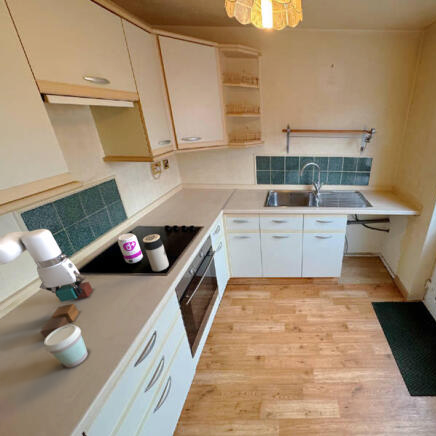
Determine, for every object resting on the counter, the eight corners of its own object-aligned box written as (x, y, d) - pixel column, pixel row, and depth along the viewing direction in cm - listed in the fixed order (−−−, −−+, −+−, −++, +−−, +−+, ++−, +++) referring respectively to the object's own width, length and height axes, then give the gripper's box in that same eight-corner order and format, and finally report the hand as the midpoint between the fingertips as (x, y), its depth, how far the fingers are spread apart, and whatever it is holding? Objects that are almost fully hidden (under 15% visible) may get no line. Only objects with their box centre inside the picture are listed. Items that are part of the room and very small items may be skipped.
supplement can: (144, 260, 127) (135, 236, 121) (126, 265, 123) (117, 242, 116) (142, 253, 133) (134, 231, 127) (125, 258, 129) (116, 235, 122)
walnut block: (47, 341, 83) (40, 331, 80) (54, 329, 87) (48, 320, 85) (64, 336, 84) (57, 327, 82) (70, 325, 88) (64, 316, 86)
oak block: (57, 325, 89) (51, 316, 86) (64, 315, 93) (58, 306, 91) (73, 321, 90) (67, 312, 88) (79, 312, 94) (73, 303, 92)
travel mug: (150, 272, 117) (139, 242, 109) (155, 263, 124) (145, 234, 116) (166, 270, 118) (157, 240, 111) (170, 261, 126) (162, 233, 118)
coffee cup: (94, 342, 82) (80, 318, 77) (91, 362, 75) (75, 337, 70) (62, 355, 78) (45, 331, 72) (56, 377, 71) (37, 352, 66)
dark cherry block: (74, 300, 101) (69, 291, 98) (79, 292, 105) (75, 284, 103) (88, 297, 102) (83, 288, 100) (92, 289, 106) (88, 281, 104)
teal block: (61, 302, 92) (55, 292, 90) (67, 293, 97) (61, 284, 94) (76, 298, 94) (70, 289, 92) (81, 290, 98) (76, 281, 96)
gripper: (81, 250, 93) (99, 285, 101) (28, 259, 88) (51, 295, 96) (73, 260, 87) (92, 296, 94) (14, 271, 82) (40, 308, 89)
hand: (71, 295), depth 95 cm, fingers closed on teal block, 5 cm apart
